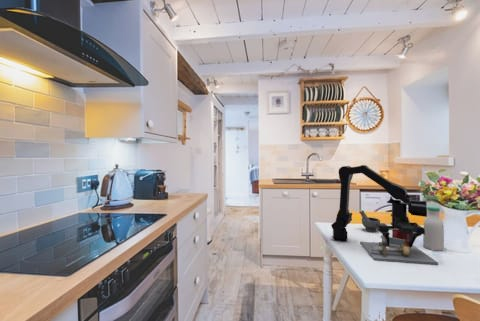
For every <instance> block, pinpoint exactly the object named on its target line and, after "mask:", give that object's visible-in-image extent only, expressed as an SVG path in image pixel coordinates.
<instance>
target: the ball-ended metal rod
mask: <svg viewBox="0 0 480 321" xmlns="http://www.w3.org/2000/svg"><path fill="white" fill-rule="evenodd" d="M380 238H381V242H382V243H383V244H384V245H387V243H386V241H385V238H384V236H383V234H381V235H380ZM389 244H394V245H399V246H401V245H408V246H409V240H405V239H399V238H393V237H392V236H389Z"/></svg>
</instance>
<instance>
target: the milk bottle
mask: <svg viewBox="0 0 480 321" xmlns="http://www.w3.org/2000/svg"><path fill="white" fill-rule="evenodd" d="M440 212H441V208H440V207H439V206H430V205H429V206H427V217H425V219H423V226H422V227H423V228H424V229H425V234H422V235H423V236H422V237H423V238H422V240H423V243H422V245H423V247H424V248H425V249H428V250H433V251H439V252H440V251H444V249H445V245H444V244H445V229H444V221H443V220H442V218H441V216H440Z"/></svg>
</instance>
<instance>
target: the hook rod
mask: <svg viewBox="0 0 480 321" xmlns="http://www.w3.org/2000/svg"><path fill="white" fill-rule="evenodd" d="M373 250H374V251H383V247H382V246H372V248H370V253H373ZM386 251H389V252H401V254H402V255H406V256H409V255H410V249H409V246H408V245H401V246H400V247H386Z"/></svg>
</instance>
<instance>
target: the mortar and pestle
mask: <svg viewBox="0 0 480 321" xmlns="http://www.w3.org/2000/svg"><path fill="white" fill-rule="evenodd" d="M359 214H360V216H361V217H362V218H361V223H362V226H363V227H364V230H365V231H366V232H367V233H368V232H369V233H377V231H378V230H377V229H375V225H376V224H377V223H381V219H380V218H376V217H370V216H369V217H368V216H367V214H366V213H365V211H364V210H360V211H359Z"/></svg>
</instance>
